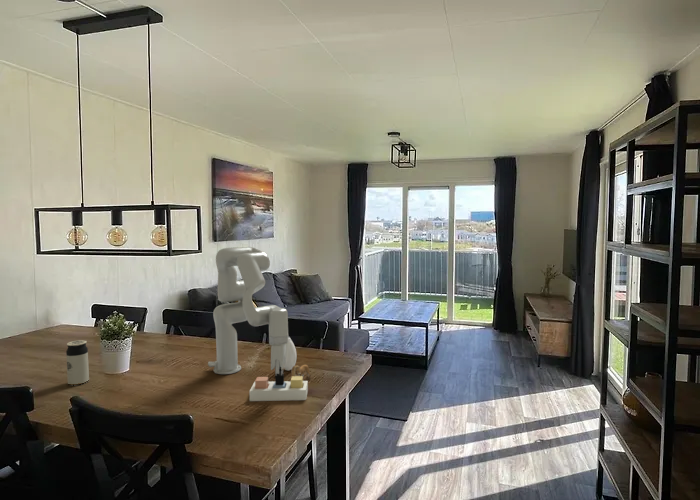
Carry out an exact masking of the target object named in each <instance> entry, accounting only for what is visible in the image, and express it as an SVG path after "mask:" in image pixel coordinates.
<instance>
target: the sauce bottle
mask: <svg viewBox="0 0 700 500" xmlns="http://www.w3.org/2000/svg"><path fill="white" fill-rule="evenodd" d="M297 358H298V357H297V349H296V346H295V344H294V342H293V340H292V339H291V337H288V343H287V344H286V362H285V366H284V368H283V369H284V370H285V371H287V372H288V371H292V370H291V369H292V367H293V366H295V365H296V363H297Z"/></svg>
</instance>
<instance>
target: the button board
mask: <svg viewBox="0 0 700 500" xmlns="http://www.w3.org/2000/svg"><path fill="white" fill-rule="evenodd" d="M284 382H286V388H273V385H274V383H275V380H274V381H273V380H272V381H268V388H267V389H255V381H254V382H253V384H252V386H251V388H250V389H249V394H248V395H249V402H267V401H268V402H269V401H272V402H275V401H276V402H277V401H280V402H281V401H306V400H307V396H308V392H309V388H308V387H309V384H308V383H309V381H308V380H303V387H302V388H291V380H290V381H288V380H287V381H285V380H284Z"/></svg>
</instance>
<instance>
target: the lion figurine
mask: <svg viewBox="0 0 700 500" xmlns="http://www.w3.org/2000/svg"><path fill="white" fill-rule="evenodd" d="M290 371H291V373H290V375H291V377H292V376H303V378H304V376H305V373H306V376H308V379H312V374H311V372H310V367H309V366H308V364H301V366H299V365H298V364H297V365H296V364H295V366H293V367H292V369H291V370H290Z"/></svg>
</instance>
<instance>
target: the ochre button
mask: <svg viewBox="0 0 700 500" xmlns="http://www.w3.org/2000/svg"><path fill="white" fill-rule="evenodd" d="M290 381H291V388H302V387H303V381H304V377H303V376H292V375H291V379H290Z"/></svg>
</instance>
